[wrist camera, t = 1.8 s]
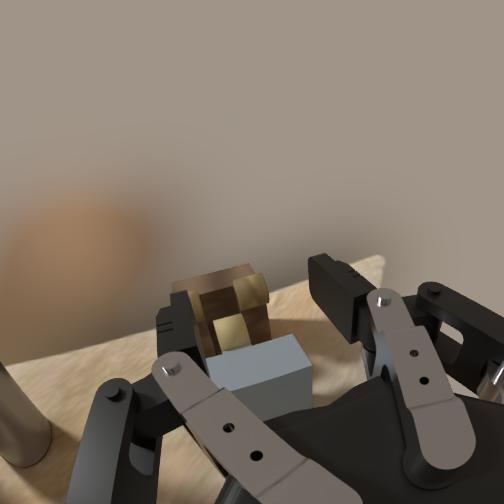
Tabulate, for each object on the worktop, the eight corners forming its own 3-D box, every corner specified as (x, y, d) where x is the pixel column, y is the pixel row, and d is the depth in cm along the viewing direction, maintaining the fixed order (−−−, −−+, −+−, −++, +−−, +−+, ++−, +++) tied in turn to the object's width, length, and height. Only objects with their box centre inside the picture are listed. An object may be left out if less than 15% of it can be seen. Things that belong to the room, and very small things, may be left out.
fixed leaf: (197, 377, 33) (170, 307, 29) (189, 336, 41) (167, 271, 36) (276, 355, 35) (267, 282, 31) (257, 318, 42) (246, 251, 38)
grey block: (214, 451, 24) (180, 388, 19) (200, 393, 31) (172, 323, 26) (311, 421, 26) (312, 350, 21) (284, 369, 33) (275, 295, 28)
